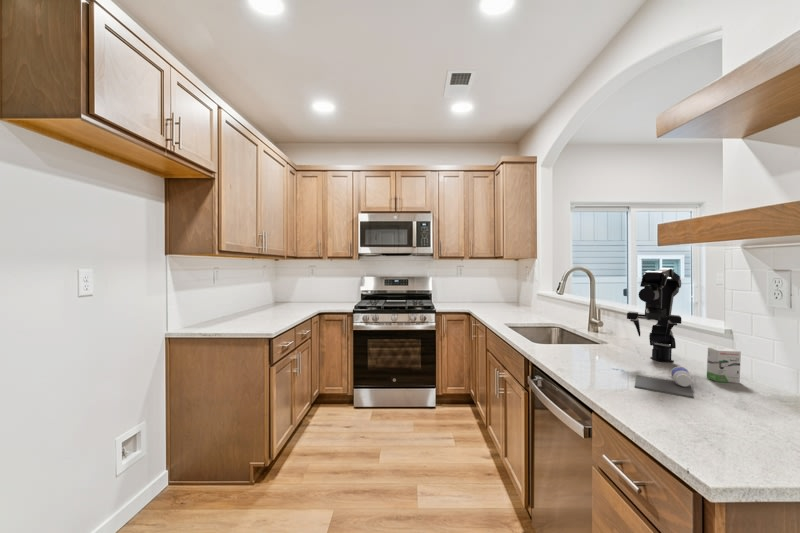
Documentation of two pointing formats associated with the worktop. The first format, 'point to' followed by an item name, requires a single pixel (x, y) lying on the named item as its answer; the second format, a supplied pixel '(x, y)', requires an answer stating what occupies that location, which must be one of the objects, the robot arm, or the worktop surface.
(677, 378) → the pill bottle
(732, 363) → the ink box
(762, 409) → the worktop surface
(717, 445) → the worktop surface
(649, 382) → the rubber mat
